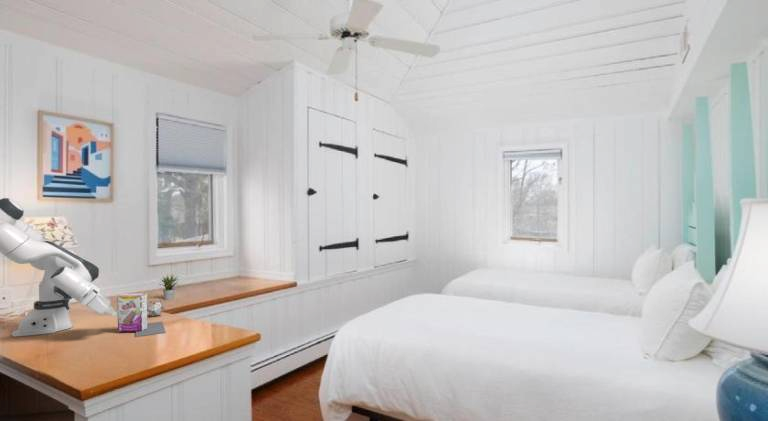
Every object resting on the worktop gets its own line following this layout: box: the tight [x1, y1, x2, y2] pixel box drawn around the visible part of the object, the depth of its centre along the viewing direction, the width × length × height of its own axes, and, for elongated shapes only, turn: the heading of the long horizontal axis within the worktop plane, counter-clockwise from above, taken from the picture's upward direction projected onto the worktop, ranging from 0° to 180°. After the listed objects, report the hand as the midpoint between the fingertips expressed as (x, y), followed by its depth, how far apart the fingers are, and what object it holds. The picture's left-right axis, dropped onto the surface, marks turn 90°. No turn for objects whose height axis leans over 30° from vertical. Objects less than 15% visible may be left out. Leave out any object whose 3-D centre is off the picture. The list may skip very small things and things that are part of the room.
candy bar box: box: [117, 293, 148, 333], centre depth 196 cm, size 11×5×16 cm, turn 89°
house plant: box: [158, 274, 181, 301], centre depth 277 cm, size 14×14×16 cm
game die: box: [147, 300, 166, 318], centre depth 227 cm, size 9×8×10 cm
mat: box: [135, 321, 166, 338], centre depth 200 cm, size 12×24×1 cm, turn 30°
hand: (116, 314), depth 192 cm, fingers closed
